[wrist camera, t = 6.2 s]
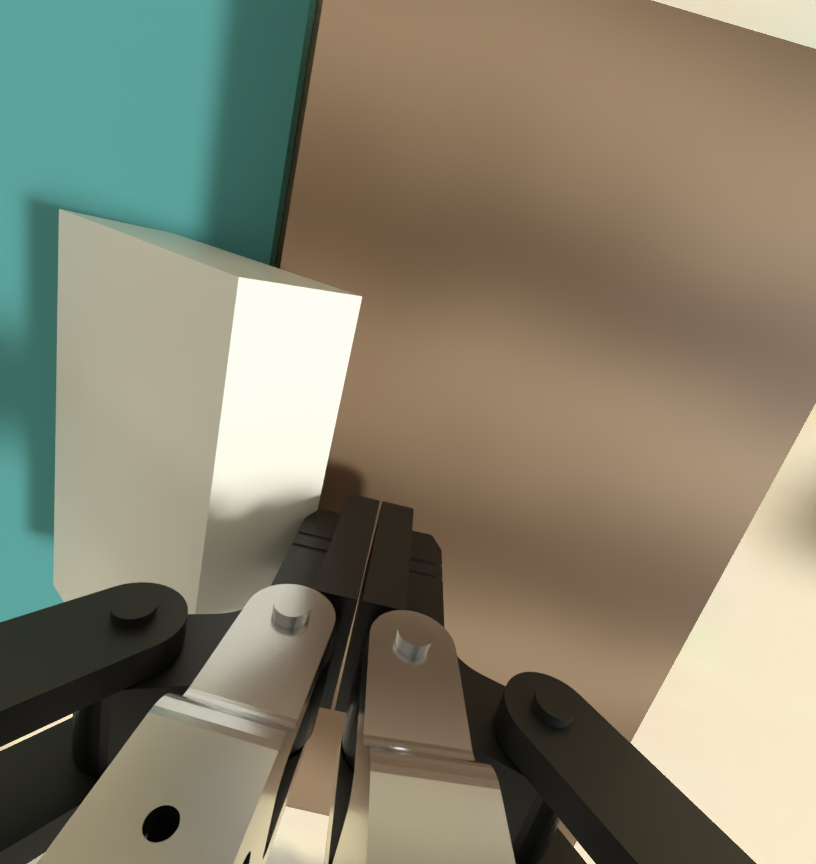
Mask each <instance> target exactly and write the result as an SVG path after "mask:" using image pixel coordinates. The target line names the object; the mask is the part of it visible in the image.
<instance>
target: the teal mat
mask: <svg viewBox="0 0 816 864" xmlns="http://www.w3.org/2000/svg"><path fill="white" fill-rule="evenodd" d="M316 3H317V0H0V622H3V621H6V620H9V619H12V618H15V617H19V616H22V615H25V614H28V613H31V612H35V611H38V610H41V609H44V608H47V607H51V606H54V605H57V604H60V603H63V602H64V601H63V600H62V598H61V596H60V595H59V593H58V592H57V590H56V589H55V587H54V585H53V569H54V503H55V436H56V370H57V304H58V238H59V209H62V210H67V211H71V212H76V213H81V214H86V215H90V216H95V217H100V218H104V219H109V220H114V221H119V222H123V223H128V224H133V225H138V226H142V227H147V228H152V229H156V230H161V231H166V232H171V233H174V234H177V235H180V236H183V237H186V238H189V239H192V240H195V241H198V242H201V243H204V244H207V245H210V246H213V247H216V248H219V249H222V250H225V251H228V252H231V253H234V254H237V255H240V256H243V257H246V258H249V259H252V260H255V261H258V262H261V263H264V264H267V265H270V266H273V267H275V262H276V256H277V250H278V243H279V237H280V231H281V224H282V218H283V212H284V205H285V199H286V193H287V186H288V180H289V174H290V167H291V161H292V155H293V148H294V142H295V136H296V129H297V123H298V117H299V110H300V104H301V98H302V91H303V85H304V79H305V72H306V66H307V60H308V53H309V47H310V41H311V34H312V28H313V22H314V15H315V9H316Z"/></svg>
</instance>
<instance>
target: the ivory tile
mask: <svg viewBox="0 0 816 864" xmlns="http://www.w3.org/2000/svg"><path fill="white" fill-rule="evenodd" d="M361 301H362V296H359V295H356V294H353V293H350V292H347V291H344V290H341V289H338V288H335V287H332V286H329V285H326V284H323V283H321V282H318V281H315V280H312V279H309V278H306V277H303V276H300V275H297V274H294V273H291V272H288V271H285V270H282V269H279V268H276V267H273V266H270V265H267V264H264V263H261V262H258V261H255V260H252V259H249V258H246V257H243V256H240V255H237V254H234V253H231V252H228V251H225V250H222V249H219V248H216V247H213V246H210V245H207V244H204V243H201V242H198V241H195V240H192V239H189V238H186V237H183V236H180V235H177V234H174V233H171V232H166V231H161V230H156V229H152V228H147V227H142V226H138V225H133V224H128V223H123V222H119V221H114V220H109V219H104V218H100V217H95V216H90V215H86V214H81V213H76V212H71V211H67V210H62V209H59V238H58V304H57V370H56V436H55V503H54V569H53V585H54V587H55V589H56V590H57V592H58V593H59V595H60V596H61V598H62V600H63V601H64V602H66V601H70V600H73V599H76V598H79V597H82V596H86V595H89V594H92V593H95V592H98V591H102V590H105V589H108V588H111V587H114V586H118V585H122V584H128V583H137V582H148V583H156V584H161V585H165V586H167V587H170V588H172V589H174V590H175V591H177V592H179V593H180V594H181V595H182V596H183V598H184V599H185V601H186V603H187V606H188V614H221V613H229V612H235V611H238V610H242V609H243V608H244V607H245V605H246V604H247V602H248V601H249V600H250V598H251V597H252V596H253V595H254V594H256V593H257V592H259V591H260V590H262V589H264V588H267V587H269V586H271V584H272V582H273V580H274V578H275V576H276V574H277V572H278V570H279V568H280V567H281V565H282V563H283V561H284V559H285V557H286V555H287V553H288V551H289V549H290V547H291V546H292V543H293V541H294V539H295V537H296V535H297V534H298V531H299V529H300V527H301V525H302V523H303V521H304V519H305V518H306V517H307V516H309V515H311V514H312V513H314V512H315V511H317V509H318V505H319V500H320V495H321V490H322V486H323V481H324V476H325V471H326V467H327V462H328V457H329V452H330V448H331V443H332V438H333V433H334V429H335V424H336V419H337V414H338V410H339V405H340V400H341V396H342V391H343V386H344V381H345V376H346V372H347V367H348V362H349V358H350V353H351V348H352V343H353V339H354V334H355V329H356V324H357V320H358V315H359V310H360V305H361Z"/></svg>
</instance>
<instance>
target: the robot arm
mask: <svg viewBox="0 0 816 864" xmlns="http://www.w3.org/2000/svg"><path fill="white" fill-rule="evenodd" d="M379 502H380V500H376V499H372V498H368V497H364V496H360V495H355V494H351V493H349V494H348V496H347V499H346V502H345V505H344V507H343V510H342V513H337V512H332V511H328V510H324V509H319V510H317V511H315V512H314V513H312V514H311V515H309V516H307V517H306V518H305V519H304V521H303V523H302V525H301V527H300V529H299V531H298V534H297V535H296V537H295V539H294V541H293V543H292V546H291V547H290V549H289V551H288V553H287V555H286V557H285V559H284V561H283V563H282V565H281V567H280V568H279V570H278V572H277V574H276V576H275V578H274V580H273V582H272V584H271V586H269V587H267V588H264V589H262V590H260V591H259V592H257V593H256V594H254V595H253V596H252V597H251V598H250V600H249V601H248V602H247V604H246V605H245V607H244V608H243V609H242V610H238V611H235V612H229V613H221V614H188V606H187V603H186V601H185V599H184V598H183V596H182V595H181V594H180V593H179V592H177V591H175V590H174V589H172V588H170V587H167V586H165V585H161V584H156V583H148V582H137V583H128V584H122V585H118V586H114V587H111V588H108V589H105V590H102V591H98V592H95V593H92V594H89V595H86V596H82V597H79V598H76V599H73V600H70V601H66V602H63V603H60V604H57V605H54V606H51V607H47V608H44V609H41V610H38V611H35V612H31V613H28V614H25V615H22V616H19V617H15V618H12V619H9V620H6V621H3V622H0V747H1V746H3V745H6V744H8V743H10V742H12V741H14V740H16V739H18V738H21V737H23V736H25V735H27V734H29V733H31V732H33V731H36V730H38V729H40V728H42V727H44V726H46V725H48V724H50V723H53V722H55V721H57V720H59V719H61V718H63V717H65V716H68V715H70V714H72V713H73V717H72V718H70V719H68V720H66V721H64V722H61V723H59V724H57V725H55V726H53V727H51V728H49V729H47V730H45V731H42V732H40V733H38V734H36V735H34V736H32V737H30V738H28V739H26V740H23V741H21V742H19V743H17V744H15V745H13V746H11V747H9V748H6V749H4V750H2V751H0V864H27V863H29V862H30V861H32V860H33V859H35V858H36V857H38V856H40V855H41V854H43V853H44V852H45V853H44V854H43V856H42V857H41V859H40V860H39V861H38V863H37V864H266V861H267V858H268V855H269V853H270V850H271V847H272V844H273V841H274V838H275V835H276V832H277V829H278V827H279V824H280V821H281V818H282V815H283V812H284V809H285V806H286V804H287V801H288V798H289V795H290V792H291V789H292V786H293V783H294V780H295V778H296V775H297V772H298V769H299V766H300V763H301V760H302V757H303V754H304V751H305V747H306V743H307V741H308V740H309V738H310V736H311V735H312V733H313V730H314V727H315V723H316V719H317V715H318V711H319V707H321V708H325V709H330V710H331V706H332V702H333V698H334V694H335V690H336V686H337V682H338V678H339V674H340V670H341V666H342V662H343V658H344V654H345V650H346V646H347V642H348V638H349V634H350V630H351V626H352V622H353V618H354V614H355V610H356V614H355V618H354V623H353V627H352V632H351V636H350V641H349V646H348V650H347V655H346V659H345V664H344V669H343V673H342V678H341V682H340V687H339V691H338V696H337V701H336V705H335V710H336V711H340V712H345V713H346V718H345V723H344V729H343V734H342V737H341V741H340V745H339V749H338V752H337V757H336V763H335V771H334V780H333V789H332V798H331V806H330V815H329V824H328V833H327V842H326V850H325V859H324V864H587V863H586V862H585V861H584V860H583V858H582V857H581V856H580V855H579V853H578V852H577V851H576V850H575V848H574V847H573V846H572V845H571V843H570V842H569V841H568V840H567V838H566V837H565V836H564V835H563V833H562V832H561V831H560V830H559V828H558V826H559V824H560V822H562V823H563V824H564V825H565V826H566V828H567V829H568V830H569V831H570V833H571V834H572V835H573V836H574V837H575V839H576V840H577V841H578V842H579V844H580V845H581V846H582V847H583V848H584V850H585V851H586V852H587V853H588V855H589V856H590V857H591V858H592V859H593V861H594V862H595V863H596V864H756V863H755V862H754V861H753V860H752V859H751V858H750V857H749V856H748V855H747V854H746V853H745V852H744V851H743V850H742V849H741V848H740V847H739V846H738V845H737V844H735V843H734V842H733V841H732V840H731V839H730V838H729V837H728V836H727V835H726V834H725V833H724V832H723V831H722V830H721V829H720V828H719V827H718V826H717V825H716V824H715V823H713V822H712V821H711V820H710V819H709V818H708V817H707V816H706V815H705V814H704V813H703V812H702V811H701V810H700V809H699V808H698V807H697V806H696V805H695V804H694V803H693V802H692V801H690V800H689V799H688V798H687V797H686V796H685V795H684V794H683V793H682V792H681V791H680V790H679V789H678V788H677V787H676V786H675V785H674V784H673V783H672V782H671V781H670V780H669V779H667V778H666V777H665V776H664V775H663V774H662V773H661V772H660V771H659V770H658V769H657V768H656V767H655V766H654V765H653V764H652V763H651V762H650V761H649V760H648V759H647V758H645V757H644V756H643V755H642V754H641V753H640V752H639V751H638V750H637V749H636V748H635V747H634V746H633V745H632V744H631V743H630V742H629V741H628V740H627V739H626V738H625V737H624V736H622V735H621V734H620V733H619V732H618V731H617V730H616V729H615V728H614V727H613V726H612V725H611V724H610V723H609V722H608V721H607V720H606V719H605V718H604V717H603V716H602V715H600V714H599V713H598V712H597V711H596V710H595V709H594V708H593V707H592V706H591V705H590V704H589V703H588V702H587V701H586V700H585V699H584V698H583V697H582V696H581V695H580V694H578V693H577V692H576V691H575V690H574V689H573V688H571V687H570V686H568V685H567V684H566V683H564V682H562V681H560V680H559V679H556V678H554V677H552V676H549V675H546V674H543V673H538V672H522V673H519V674H516V675H515V676H513V677H512V678H511V679H510V680H509V681H508V683H507V685H506V686H504V685H502V684H500V683H498V682H496V681H494V680H492V679H490V678H488V677H486V676H484V675H482V674H480V673H478V672H477V671H475V670H473V669H472V668H470V667H469V666H468V665H466V664H465V663H464V662H463V661H462V660H461V659H460V658H459V657H458V656H457V652H456V647H455V643H454V641H453V639H452V637H451V635H450V634H449V633H448V631H447V630H446V629H445V627H444V601H443V581H442V578H443V576H442V550H441V548H440V547H439V545H438V544H437V542H436V541H435V539H434V538H433V536H432V535H430V534H426V533H421V532H417V531H413V530H412V527H413V513H414V508H410V507H406V506H402V505H398V504H393V503H389V502H385V501H382V505H381V509H380V513H379V517H378V521H377V525H376V529H375V533H374V537H373V541H372V545H371V549H370V553H369V557H368V552H369V548H370V543H371V539H372V534H373V530H374V525H375V521H376V516H377V511H378V507H379ZM367 557H368V561H367ZM366 562H367V565H366ZM365 566H366V569H365ZM364 571H365V573H364ZM363 575H364V577H363ZM362 580H363V582H362ZM361 584H362V586H361ZM360 589H361V591H360ZM359 593H360V595H359ZM358 598H359V600H358ZM357 602H358V604H357ZM356 606H357V609H356Z"/></svg>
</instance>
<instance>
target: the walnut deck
mask: <svg viewBox="0 0 816 864" xmlns="http://www.w3.org/2000/svg"><path fill="white" fill-rule="evenodd" d="M280 269H282V270H285V271H288V272H291V273H294V274H297V275H300V276H303V277H306V278H309V279H312V280H315V281H318V282H321V283H323V284H326V285H329V286H332V287H335V288H338V289H341V290H344V291H347V292H350V293H353V294H356V295H359V296H362V301H361V305H360V310H359V315H358V320H357V324H356V329H355V334H354V339H353V343H352V348H351V353H350V358H349V362H348V367H347V372H346V376H345V381H344V386H343V391H342V396H341V400H340V405H339V410H338V414H337V419H336V424H335V429H334V433H333V438H332V443H331V448H330V452H329V457H328V462H327V467H326V471H325V476H324V481H323V486H322V490H321V495H320V500H319V505H318V509H317V510H319V509H324V510H328V511H332V512H337V513H342V510H343V507H344V505H345V502H346V499H347V496H348V494H349V493H351V494H355V495H360V496H364V497H368V498H372V499H376V500H380V502H379V507H378V511H377V516H376V521H375V525H374V530H373V534H372V539H371V543H370V548H369V552H368V557H369V553H370V549H371V545H372V541H373V537H374V533H375V529H376V525H377V521H378V517H379V513H380V509H381V505H382V501H385V502H389V503H393V504H398V505H402V506H406V507H410V508H414V513H413V527H412V530H413V531H417V532H421V533H426V534H430V535H432V536H433V538H434V539H435V541H436V542H437V544H438V545H439V547H440V548H441V550H442V576H443V578H442V581H443V601H444V627H445V629H446V630H447V631H448V633H449V634H450V635H451V637H452V639H453V641H454V643H455V647H456V652H457V656H458V657H459V658H460V659H461V660H462V661H463V662H464V663H465V664H466V665H468V666H469V667H470V668H472V669H473V670H475V671H477V672H478V673H480V674H482V675H484V676H486V677H488V678H490V679H492V680H494V681H496V682H498V683H500V684H502V685H504V686H506V685H507V683H508V681H509V680H510V679H511V678H512V677H513V676H515V675H516V674H519V673H522V672H538V673H543V674H546V675H549V676H552V677H554V678H556V679H559V680H560V681H562V682H564V683H566V684H567V685H568V686H570V687H571V688H573V689H574V690H575V691H576V692H577V693H578V694H580V695H581V696H582V697H583V698H584V699H585V700H586V701H587V702H588V703H589V704H590V705H591V706H592V707H593V708H594V709H595V710H596V711H597V712H598V713H599V714H600V715H602V716H603V717H604V718H605V719H606V720H607V721H608V722H609V723H610V724H611V725H612V726H613V727H614V728H615V729H616V730H617V731H618V732H619V733H620V734H621V735H622V736H624V737H625V738H626V739H627V740H628V741H629V742H631V740H632V739H633V737H634V735H635V733H636V731H637V730H638V728H639V726H640V724H641V722H642V720H643V719H644V717H645V715H646V713H647V711H648V709H649V708H650V706H651V704H652V702H653V700H654V698H655V697H656V695H657V693H658V691H659V689H660V687H661V686H662V684H663V682H664V680H665V678H666V676H667V675H668V673H669V671H670V669H671V667H672V665H673V664H674V662H675V660H676V658H677V656H678V654H679V653H680V651H681V649H682V647H683V645H684V643H685V642H686V640H687V638H688V636H689V634H690V632H691V631H692V629H693V627H694V625H695V623H696V621H697V620H698V618H699V616H700V614H701V612H702V610H703V609H704V607H705V605H706V603H707V601H708V599H709V598H710V596H711V594H712V592H713V590H714V588H715V587H716V585H717V583H718V581H719V579H720V577H721V576H722V574H723V572H724V570H725V568H726V566H727V565H728V563H729V561H730V559H731V557H732V555H733V554H734V552H735V550H736V548H737V546H738V544H739V543H740V541H741V539H742V537H743V535H744V533H745V532H746V530H747V528H748V526H749V524H750V522H751V521H752V519H753V517H754V515H755V513H756V511H757V510H758V508H759V506H760V504H761V502H762V500H763V499H764V497H765V495H766V493H767V491H768V489H769V488H770V486H771V484H772V482H773V480H774V478H775V477H776V475H777V473H778V471H779V469H780V467H781V466H782V464H783V462H784V460H785V458H786V456H787V455H788V453H789V451H790V449H791V447H792V445H793V444H794V442H795V440H796V438H797V436H798V434H799V433H800V431H801V429H802V427H803V425H804V423H805V422H806V420H807V418H808V416H809V414H810V412H811V411H812V409H813V407H814V405H815V403H816V49H813V48H810V47H807V46H803V45H800V44H797V43H793V42H790V41H786V40H783V39H780V38H776V37H773V36H770V35H766V34H763V33H759V32H756V31H753V30H749V29H746V28H742V27H739V26H736V25H732V24H729V23H726V22H722V21H719V20H715V19H712V18H709V17H705V16H702V15H699V14H695V13H692V12H688V11H685V10H682V9H678V8H675V7H672V6H668V5H665V4H661V3H658V2H655V1H651V0H323V4H322V10H321V16H320V22H319V29H318V35H317V41H316V47H315V53H314V60H313V66H312V72H311V78H310V84H309V91H308V97H307V103H306V109H305V115H304V122H303V128H302V134H301V140H300V146H299V153H298V159H297V165H296V171H295V177H294V184H293V190H292V196H291V202H290V208H289V214H288V221H287V227H286V233H285V239H284V245H283V252H282V258H281V264H280ZM368 557H367V561H368ZM366 565H367V562H366ZM365 569H366V566H365ZM364 573H365V571H364ZM363 577H364V575H363ZM362 582H363V580H362ZM361 586H362V584H361ZM360 591H361V589H360ZM359 595H360V593H359ZM358 600H359V598H358ZM357 604H358V602H357ZM356 609H357V606H356ZM355 614H356V610H355ZM355 614H354V618H355ZM354 618H353V622H352V626H351V630H350V634H349V638H348V642H347V646H346V650H345V654H344V658H343V662H342V666H341V670H340V674H339V678H338V682H337V686H336V690H335V694H334V698H333V702H332V706H331V710H330V709H325V708H321V707H319V711H318V715H317V719H316V723H315V727H314V730H313V733H312V735H311V736H310V738H309V740H308V741H307V743H306V747H305V751H304V754H303V757H302V760H301V763H300V766H299V769H298V772H297V775H296V778H295V780H294V783H293V786H292V789H291V792H290V795H289V798H288V801H287V804H286V806H287V807H292V808H296V809H301V810H305V811H310V812H314V813H318V814H323V815H327V816H329V815H330V806H331V798H332V789H333V780H334V771H335V763H336V757H337V752H338V749H339V745H340V741H341V737H342V734H343V729H344V723H345V718H346V713H345V712H340V711H336V710H335V705H336V701H337V696H338V691H339V687H340V682H341V678H342V673H343V669H344V664H345V659H346V655H347V650H348V646H349V641H350V636H351V632H352V627H353V623H354ZM558 828H559V830H560V831H561V832H562V833H563V835H564V836H565V837H566V838H567V840H568V841H569V842H570V843H571V845H572V846H573V847H574V845H575V843H576V841H577V840H576V839H575V837H574V836H573V835H572V834H571V833H570V831H569V830H568V829H567V828H566V826H565V825H564V824H563V823H562V822H560V824H559V826H558Z"/></svg>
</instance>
